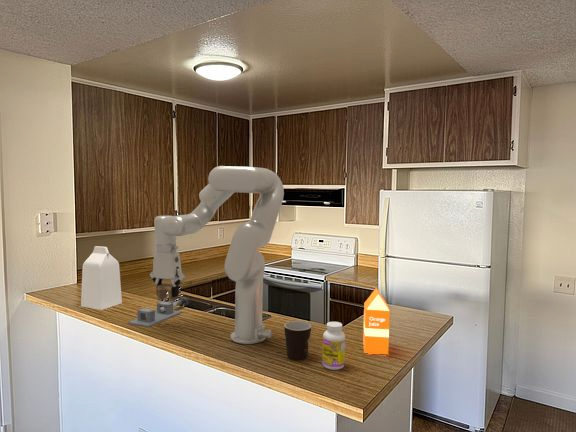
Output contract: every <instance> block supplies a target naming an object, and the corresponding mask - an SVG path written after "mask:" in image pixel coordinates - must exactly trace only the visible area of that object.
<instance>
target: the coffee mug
mask: <svg viewBox="0 0 576 432" xmlns="http://www.w3.org/2000/svg"><path fill="white" fill-rule="evenodd" d="M283 327H284V336H285V337H284V339H285V348H286V358H287V359H289V360H291V361H295V362H296V361H297V362H300V361H305V360H306V359H307V358H308V355H309V354H308V353H309V346H310V341H311V340H310V338H311V331H312V325H311V323H309V322H306V321H303V320H302V321H301V320H296V321H295V320H292V321H287V322H286V323H284V325H283Z"/></svg>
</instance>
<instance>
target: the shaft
mask: <svg viewBox="0 0 576 432" xmlns="http://www.w3.org/2000/svg"><path fill="white" fill-rule="evenodd" d="M172 303H173V309H174V308H175V307H179V306H181V305H183V306H188V305H189V303H190V299H189V297H186V296H181V297H178V300H177V301H176V300H175V301H172ZM160 311H161V312H164V311H166V306H163V307H161V308H160Z"/></svg>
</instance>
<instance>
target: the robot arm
mask: <svg viewBox="0 0 576 432" xmlns="http://www.w3.org/2000/svg"><path fill="white" fill-rule="evenodd" d="M207 180H208V183H207V185H205V187H204V188H203V189H201V191H200V192H199V194H198V197H199V201H200V203H199V204H198V205H197V207H195V209H193V210H192V211H191V212H190V213H188V214H181V215H157V216H155V217H154V222H153V223H154V225H153V226H154V246H155V247H154V249H155V252H154V254H153V264H152V271H151V272H150V273H149V277H151V278H150V279H152V281H153V282H154V285H155V286H156V289H157V286H158V285H161V284H163V281H164V280H170V282H171V284H172V285H173V287H172V297H177V296H178V297H179V295H180V291H179V289H180V288H179V287H180V285H181V284H182V282H183V281H184V279H185V278H186V276H185V274H184V273H183V271H182V263H181V257H180V253H179V251H177V250H178V249H179V246H178V245H177V237H183V236H188V235H193V234H196V233H199V231H201V230H202V229H203V228H204V227H205V226H206V225H207V224H208V223H209V222H210V221H211V220H212V219H213V217H214V215H216V212H217V210H218V209H219V208H220V207H221V206H222V205H223V204H224V203H225V202H226V201H227V200H229V198H230V197H231V196H233V194H234V193H245V194H259V197H258V199H257V201H256V203H255V205H254V207H253V212H252V214H251V217H250V219H249V221H246V222H243V223H242V224H240V225H239V226H238V227H237V228H236V230H235V231H234V233H233V236H232V239H231V242H230V245H229V248H228V251H227V255H226V256H225V261H224V273H225V275H226V276H227V277H228V279H229V280H230V281H233V282H235V292H234V293H235V294H234V295H235V297H234V298H235V299H234V306H235V307H234V311H235V312H234V313H235V314H234V331H233V332H232V333H230V340H231V341H232V342H234V343H237V344H242V345H253V344H259V343H261V342H263V341H265V340H266V339H267V338H268V339H269V338H272V335H273V334H272V330H271V329H266V328H265V327H266V325H265V324H263V291H264V289H263V287H264V275H265V267H266V260H265V257H264V255H263V253H261V252H260V251H259V249H261V248H263V247H265V246H267V245H268V244H269V243H270V241H271V238H272V235H273V231H274V229H275V226H276V223H277V220H278V216H279V213H280V210H281V207H282V204H283V200H284V196H285V192H284V191H285V190H284V189H285V188H284V185H283V182H282V180H281V179H280V177H279V176H278V174H276V172H274V171H273V170H270V169H269V168H264V167H255V166H231V165H230V166H225V165H219V166H218V165H217V166H215V167H214V168H213V169H212V170H211V171H210V172H209V174H208V178H207Z"/></svg>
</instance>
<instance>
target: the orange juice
mask: <svg viewBox="0 0 576 432" xmlns="http://www.w3.org/2000/svg"><path fill="white" fill-rule="evenodd" d="M363 305H364V306H363V308H364V309H363V336H362V337H363V340H362V345H364V346H363V354H364V353H368V354H367V355H372V354H388V355H389V339H390V308H389V306H388V303H387V302H386V300H385V299H384V297H383V295H382V294H381V293H380V291H379V290H378V288H377V287H375V289H374V290H373V291H372V292H371V294H370V295H369V297H368V298H367V299H366V300H365V302H364V303H363Z"/></svg>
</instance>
